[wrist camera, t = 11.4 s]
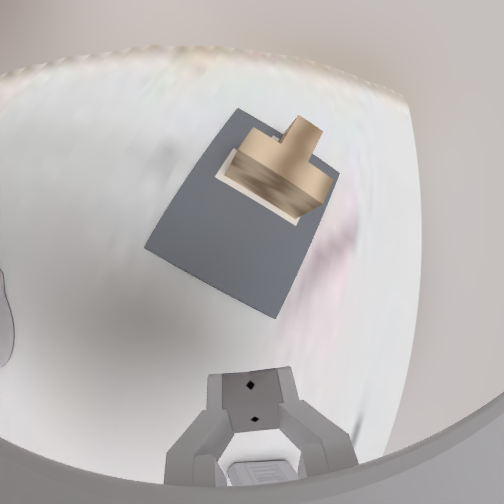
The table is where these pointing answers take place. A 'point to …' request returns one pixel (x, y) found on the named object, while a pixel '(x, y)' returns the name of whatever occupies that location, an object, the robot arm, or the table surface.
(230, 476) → the photo printer
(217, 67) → the table surface
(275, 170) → the maple T-block
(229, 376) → the robot arm
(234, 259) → the slate mat
